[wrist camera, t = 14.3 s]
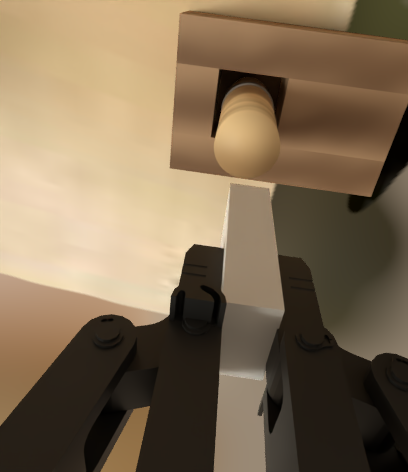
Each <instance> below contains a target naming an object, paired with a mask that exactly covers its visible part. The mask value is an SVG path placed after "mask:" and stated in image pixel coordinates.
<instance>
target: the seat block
mask: <svg viewBox="0 0 408 472" xmlns="http://www.w3.org/2000/svg"><path fill="white" fill-rule="evenodd" d="M221 69H225V70H232V71H239V72H246V73H254V74H261V75H268V76H276V77H282V79H281V84H280V88H279V93H278V98H277V103H276V107H275V112H274V114H275V119H276V124H277V128H278V133H279V138H280V153H279V157H278V159H277V161H276V163H275V164H274V165H273V167H272V168H271V169H270V170H269V171H267V172H266V173H264V174H263V175H260V176H258V177H255V178H247V179H249V180H256V181H263V182H270V183H277V184H284V185H292V186H298V187H305V188H312V189H320V190H327V191H334V192H340V193H347V194H354V195H361V196H368V197H371V195H372V192H373V190H374V187H375V185H376V182H377V180H378V177H379V175H380V172H381V170H382V167H383V165H384V162H385V160H386V157H387V154H388V152H389V149H390V147H391V144H392V142H393V139H394V137H395V134H396V132H397V129H398V127H399V124H400V122H401V119H402V117H403V114H404V112H405V109H406V107H407V104H408V40H403V39H395V38H387V37H380V36H372V35H365V34H358V33H350V32H343V31H335V30H328V29H321V28H313V27H306V26H298V25H291V24H283V23H276V22H268V21H261V20H253V19H246V18H238V17H231V16H224V15H216V14H209V13H201V12H194V11H187V12H183V13H180V20H179V35H178V50H177V66H176V81H175V96H174V112H173V127H172V142H171V158H170V168H172V169H179V170H186V171H193V172H200V173H207V174H214V175H221V176H228V177H235V176H232V175H230V174H229V173H227V172H226V171H225V170H223V169H222V167H221V166H220V165H219V163H218V162H217V160H216V157H215V153H214V141H215V137H216V132H217V128H218V124H219V121H215V117H216V109H217V101H218V93H219V85H220V77H221ZM235 178H238V177H235ZM242 179H245V178H242Z"/></svg>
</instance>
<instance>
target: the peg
mask: <svg viewBox="0 0 408 472" xmlns="http://www.w3.org/2000/svg"><path fill="white" fill-rule="evenodd" d="M214 153H215V157H216V160H217V162H218V163H219V165H220V166H221V167H222V169H223V170H225V171H226V172H227V173H229V174H230V175H232V176H235V177H238V178H245V179H247V178H255V177H258V176H260V175H263V174H264V173H266V172H267V171H269V170H270V169H271V168H272V167H273V165H274V164H275V163H276V161H277V159H278V157H279V153H280V138H279V133H278V128H277V124H276V119H275V114H274V105H273V100H272V97H271V95H270V93H269V90H268V89H267V87H266V86H265V85H264V84H263V83H262V82H260V81H259V80H257V79H256V78H253V77H243V78H241V79H239V80H237V81H236V82H235V83H234V84H232V85H231V86H230V88H229V89H228V90H227V92H226V95H225V97H224V99H223V102H222V107H221V115H220V119H219V124H218V128H217V132H216V137H215V141H214Z"/></svg>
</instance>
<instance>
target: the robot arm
mask: <svg viewBox="0 0 408 472" xmlns="http://www.w3.org/2000/svg"><path fill="white" fill-rule="evenodd" d="M312 281H313V280H312V275H311V271H310V269H309V267H308V266H307V265H306V263H305V262H304V261H303V260H302V259H301V258H296V257H289V256H282V255H278V254H277V246H276V239H275V230H274V223H273V215H272V207H271V199H270V191H269V188H262V187H255V186H247V185H240V184H233V183H230V189H229V195H228V202H227V208H226V214H225V220H224V226H223V232H222V238H221V247H220V248H218V247H211V246H203V245H196V244H194V245H193V246H192V247H191V248H190V249H189V250H188V251H187V252H186V255H185V259H184V264H183V268H182V274H181V278H180V282H179V286H178V287H177V288H175V289H174V291H173V293H172V295H171V303H170V315H169V316H168V317H167V318H165V319H164V320H162V321H160V322H158V323H155V324H151V325H145V326H137V327H135V326H134V325H133V324H132V322H131V321H130V320H128V319H126V318H124V317H123V316H118V315H112V314H111V315H103V316H99V317H97V318H94V319H92V320H90V321H89V322H88V323H87V324H86V325H84V326H83V327H82V328H81V330H80V331H79V332H78V333H77V334H76V336H75V337H74V338H73V339H72V340H71V342H70V343H69V344H68V345H67V347H66V348H65V349H64V350H63V351H62V352H61V354H60V355H59V356H58V357H57V359H56V360H55V361H54V362H53V363H52V365H51V366H50V367H49V368H48V369H47V371H46V372H45V373H44V374H43V375H42V377H41V378H40V379H39V380H38V382H37V383H36V384H35V385H34V386H33V387H32V389H31V390H30V391H29V392H28V394H27V395H26V396H25V397H24V398H23V399H22V401H21V402H20V403H19V404H18V406H17V407H16V408H15V409H14V410H13V411H12V413H11V414H10V415H9V416H8V417H7V419H6V420H5V421H4V422H3V424H2V425H1V426H0V472H100V471H101V469H102V467H103V466H104V464H105V462H106V460H107V458H108V456H109V454H110V452H111V451H112V449H113V447H114V445H115V443H116V441H117V440H118V438H119V436H120V434H121V432H122V430H123V428H124V426H125V425H126V423H127V421H128V419H129V417H130V415H131V413H132V412H133V409H136V408H142V407H147V406H150V410H149V414H148V418H147V423H146V427H145V432H144V436H143V441H142V445H141V450H140V455H139V459H138V463H137V468H136V472H213V470H214V453H215V437H216V420H217V404H218V387H219V374H222V375H228V376H235V377H242V378H249V379H256V380H263V376H264V374H265V371H266V379H267V385H266V388H265V391H264V394H263V397H262V400H261V403H260V406H259V410H258V415H259V416H262V413H263V411H264V433H265V455H266V456H265V457H266V472H408V359H407V358H405V357H402V356H399V355H397V354H391V353H383V354H380V355H377V356H376V357H375V358H374V359H373V360H372V362H371V361H369V360H367V359H364V358H361V357H359V356H356V355H354V354H352V353H350V352H348V351H346V350H344V349H342V348H340V347H339V346H338V345H337V342H336V340H335V338H334V336H333V335H332V334H331V333H330V332H329V331H328V330H327V329H326V328H324V326H323V322H322V318H321V314H320V310H319V305H318V301H317V297H316V292H315V288H314V284H313V283H312Z"/></svg>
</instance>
